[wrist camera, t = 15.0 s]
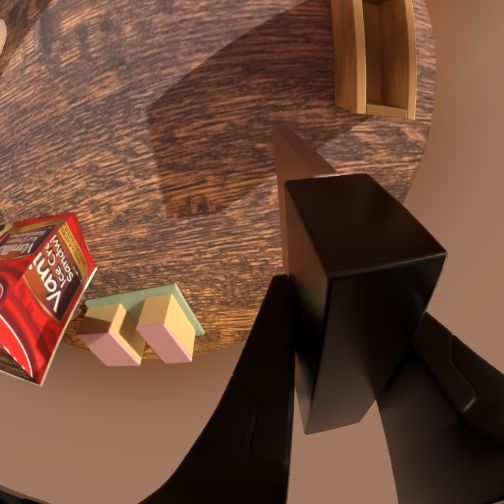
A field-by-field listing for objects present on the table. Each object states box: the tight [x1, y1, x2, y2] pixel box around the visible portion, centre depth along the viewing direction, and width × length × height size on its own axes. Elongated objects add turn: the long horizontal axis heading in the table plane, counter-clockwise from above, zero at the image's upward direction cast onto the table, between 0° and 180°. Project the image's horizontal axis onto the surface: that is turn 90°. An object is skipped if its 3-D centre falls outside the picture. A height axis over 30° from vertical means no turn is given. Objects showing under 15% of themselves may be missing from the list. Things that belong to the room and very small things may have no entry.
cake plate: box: [85, 283, 204, 336], centre depth 28 cm, size 8×12×1 cm, turn 104°
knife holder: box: [330, 0, 417, 120], centre depth 12 cm, size 9×4×4 cm, turn 4°
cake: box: [76, 303, 146, 366], centre depth 27 cm, size 6×5×4 cm
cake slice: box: [136, 294, 195, 364], centre depth 26 cm, size 6×3×4 cm, turn 14°
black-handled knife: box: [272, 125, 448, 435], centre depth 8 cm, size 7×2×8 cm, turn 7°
